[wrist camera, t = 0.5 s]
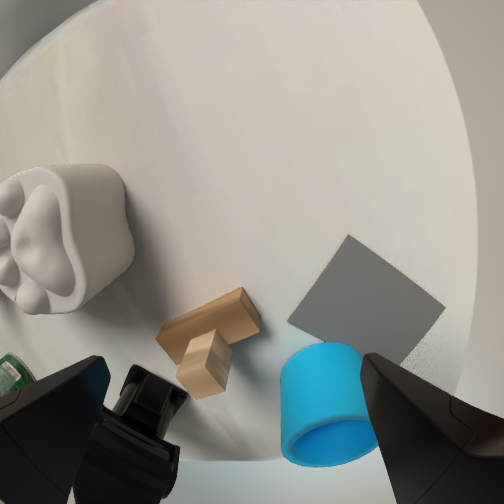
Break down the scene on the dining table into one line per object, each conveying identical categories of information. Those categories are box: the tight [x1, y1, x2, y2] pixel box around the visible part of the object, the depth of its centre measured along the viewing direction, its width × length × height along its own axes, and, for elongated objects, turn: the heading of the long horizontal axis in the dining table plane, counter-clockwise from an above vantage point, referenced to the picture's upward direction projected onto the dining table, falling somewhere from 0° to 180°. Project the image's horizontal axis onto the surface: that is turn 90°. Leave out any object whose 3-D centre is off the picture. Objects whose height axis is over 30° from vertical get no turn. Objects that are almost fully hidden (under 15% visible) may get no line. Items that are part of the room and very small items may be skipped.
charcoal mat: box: [287, 235, 445, 365], centre depth 22 cm, size 8×13×1 cm, turn 59°
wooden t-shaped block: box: [155, 287, 261, 400], centre depth 20 cm, size 4×8×7 cm, turn 119°
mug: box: [280, 342, 379, 468], centre depth 20 cm, size 12×8×8 cm
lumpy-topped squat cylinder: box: [0, 163, 135, 315], centre depth 17 cm, size 10×13×9 cm
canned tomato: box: [0, 353, 36, 397], centre depth 23 cm, size 8×8×11 cm
